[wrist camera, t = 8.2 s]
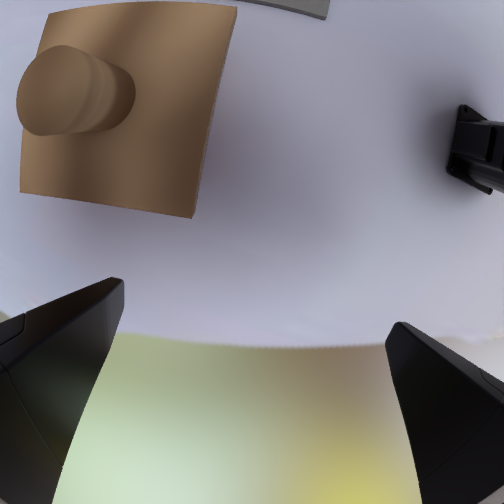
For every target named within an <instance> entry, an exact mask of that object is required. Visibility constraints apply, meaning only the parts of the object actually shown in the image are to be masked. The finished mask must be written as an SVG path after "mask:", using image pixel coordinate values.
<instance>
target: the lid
mask: <svg viewBox="0 0 504 504" xmlns="http://www.w3.org/2000/svg"><path fill="white" fill-rule="evenodd" d="M236 17H237V7H233V6H225V5H216V4H206V3H193V2H167V1H152V2H127V3H114V4H104V5H95V6H88V7H81V8H75V9H70V10H64V11H59V12H55V13H50V14H49V15H48V18H47V21H46V24H45V27H44V30H43V34H42V37H41V40H40V44H39V47H38V51H37V55H36V58H35V59H34V60H33V61H32V62H31V63H30V65H29V66H28V68H27V69H26V71H25V72H24V74H23V76H22V79H21V81H20V84H19V87H18V91H17V98H16V106H17V113H18V117H19V120H20V122H21V124H22V125H23V134H22V146H21V163H20V192H21V193H28V194H36V195H43V196H50V197H57V198H64V199H71V200H78V201H84V202H91V203H98V204H104V205H111V206H117V207H123V208H130V209H136V210H142V211H148V212H154V213H160V214H166V215H172V216H178V217H184V218H190V219H192V217H193V215H194V213H195V209H196V203H197V197H198V191H199V185H200V179H201V173H202V167H203V162H204V157H205V151H206V146H207V141H208V136H209V131H210V126H211V121H212V116H213V111H214V107H215V102H216V97H217V93H218V89H219V84H220V80H221V76H222V71H223V67H224V63H225V59H226V55H227V51H228V47H229V43H230V39H231V36H232V32H233V28H234V25H235V21H236Z"/></svg>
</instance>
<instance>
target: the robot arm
mask: <svg viewBox="0 0 504 504" xmlns="http://www.w3.org/2000/svg"><path fill="white" fill-rule="evenodd" d="M464 109H465V112H464ZM452 168H453V171H451V170H452ZM447 173H448V174H449V175H451V176H453V177H455V178H457V179H459V180H461V181H463V182H465V183H467V184H469V185H471V186H473V187H475V188H477V189H479V190H480V191H482V192H484V193H486V194H488V195H490V194H491V193H492V191H493V189H495V190H497V191H500V192H502V193H504V122H497V121H489V120H487V119H486V118H485V117H483V116H482V115H480V114H479V113H477V112H476V111H475V110H473V109H472V108H470V107H469V106H467V105H460V107H459V111H458V117H457V123H456V128H455V133H454V138H453V143H452V148H451V152H450V157H449V161H448V165H447ZM488 189H489V190H488ZM123 309H124V281H123V280H122V279H119V278H114V277H110V278H107V279H105V280H102V281H100V282H97V283H95V284H92V285H90V286H87V287H85V288H82V289H80V290H77V291H75V292H73V293H70V294H68V295H65V296H63V297H60V298H58V299H56V300H53V301H51V302H48V303H46V304H44V305H41V306H39V307H37V308H34V309H32V310H30V311H27V312H26V314H25V313H22V314H20V315H18V316H16V317H13V318H11V319H8V320H6V321H4V322H1V323H0V504H52V501H53V498H54V494H55V491H56V488H57V484H58V481H59V477H60V474H61V472H62V469H63V468H62V466H63V465H64V462H65V459H66V456H67V453H68V450H69V448H70V445H71V442H72V439H73V436H74V434H75V431H76V428H77V426H78V423H79V421H80V418H81V416H82V413H83V411H84V408H85V406H86V403H87V401H88V398H89V396H90V394H91V391H92V389H93V386H94V384H95V382H96V380H97V377H98V375H99V373H100V370H101V368H102V366H103V364H104V362H105V359H106V357H107V355H108V352H109V350H110V348H111V345H112V342H113V339H114V336H115V333H116V330H117V327H118V324H119V321H120V318H121V315H122V312H123ZM385 348H386V352H387V357H388V361H389V366H390V371H391V376H392V380H393V384H394V387H395V390H396V394H397V397H398V401H399V404H400V408H401V411H402V415H403V418H404V422H405V426H406V430H407V434H408V438H409V442H410V446H411V450H412V454H413V458H414V463H415V468H416V472H417V477H418V481H419V488H420V494H421V498H422V504H504V382H502V381H500V380H499V379H497V378H495V377H494V376H492V375H490V374H489V373H487V372H486V371H484V370H482V369H481V368H478V367H477V366H476V365H474V364H473V363H471V362H470V361H468V360H466V359H465V358H463V357H462V356H460V355H458V354H457V353H455V352H454V351H452V350H451V349H449V348H447V347H446V346H444V345H443V344H441V343H439V342H438V341H436V340H435V339H433V338H431V337H430V336H428V335H426V334H425V333H423V332H422V331H420V330H418V329H417V328H415V327H413V326H412V325H410V324H409V323H407V322H396V323H395V324H394V326H393V328H392V330H391V331H390V333H389V335H388V337H387V339H386V342H385Z"/></svg>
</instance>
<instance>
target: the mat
mask: <svg viewBox="0 0 504 504" xmlns="http://www.w3.org/2000/svg"><path fill="white" fill-rule="evenodd" d="M238 1H245V2H251V3H256V4H262V5H267V6H272V7H277V8H281V9H285V10H290V11H294V12H297V13H301V14H305V15H309V16H312V17H315V18H319V19H322V20H325V19H326V18H327V13H328V8H329V3H330V0H238Z"/></svg>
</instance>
